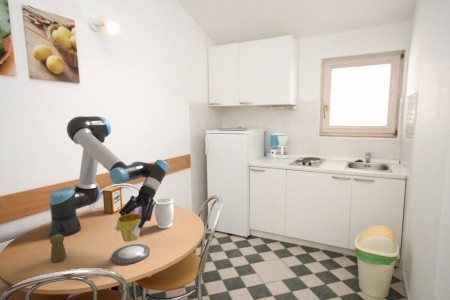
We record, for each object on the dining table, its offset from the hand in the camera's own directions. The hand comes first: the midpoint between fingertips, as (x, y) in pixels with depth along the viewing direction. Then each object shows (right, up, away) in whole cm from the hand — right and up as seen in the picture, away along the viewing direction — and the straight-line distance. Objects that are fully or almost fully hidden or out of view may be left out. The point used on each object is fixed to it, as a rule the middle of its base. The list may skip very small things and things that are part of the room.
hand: (125, 232), depth 113 cm
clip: (-9, -6, +56) cm, 57 cm away
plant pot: (+1, -4, +3) cm, 5 cm away
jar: (+9, -8, +36) cm, 38 cm away
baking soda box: (-32, -6, +62) cm, 70 cm away
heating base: (+1, -11, +4) cm, 12 cm away
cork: (-30, -12, +1) cm, 32 cm away
